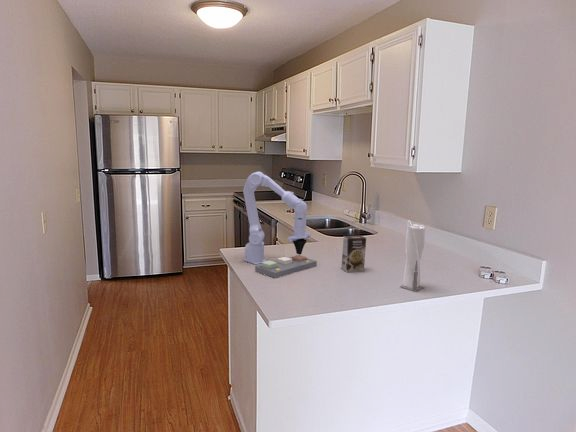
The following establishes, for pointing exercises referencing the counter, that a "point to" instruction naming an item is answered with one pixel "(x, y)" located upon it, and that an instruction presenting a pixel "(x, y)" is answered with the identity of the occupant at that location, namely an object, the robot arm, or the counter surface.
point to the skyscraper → (413, 256)
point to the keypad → (287, 268)
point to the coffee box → (353, 253)
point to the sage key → (269, 265)
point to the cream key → (284, 261)
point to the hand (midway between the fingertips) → (298, 253)
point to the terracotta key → (298, 258)
